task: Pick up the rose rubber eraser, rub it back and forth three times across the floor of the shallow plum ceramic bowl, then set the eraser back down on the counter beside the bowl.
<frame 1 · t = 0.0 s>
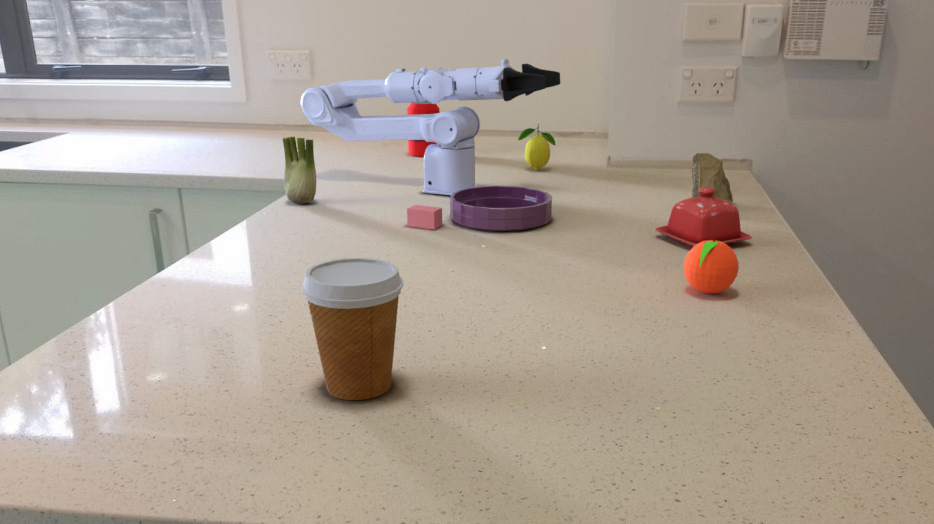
hand: (552, 80, 148), 22 cm above the worktop, tool horizontal, fingers open, 7 cm apart
butter dish: (701, 241, 133), on the worktop
eraser: (425, 225, 140), on the worktop
disposable coffee cup: (359, 388, 83), on the worktop
bowl: (501, 219, 144), on the worktop
clementine: (706, 294, 110), on the worktop
lemon: (536, 171, 183), on the worktop
soda can: (424, 155, 200), on the worktop
fennel bulb: (301, 204, 154), on the worktop
rock: (713, 208, 153), on the worktop
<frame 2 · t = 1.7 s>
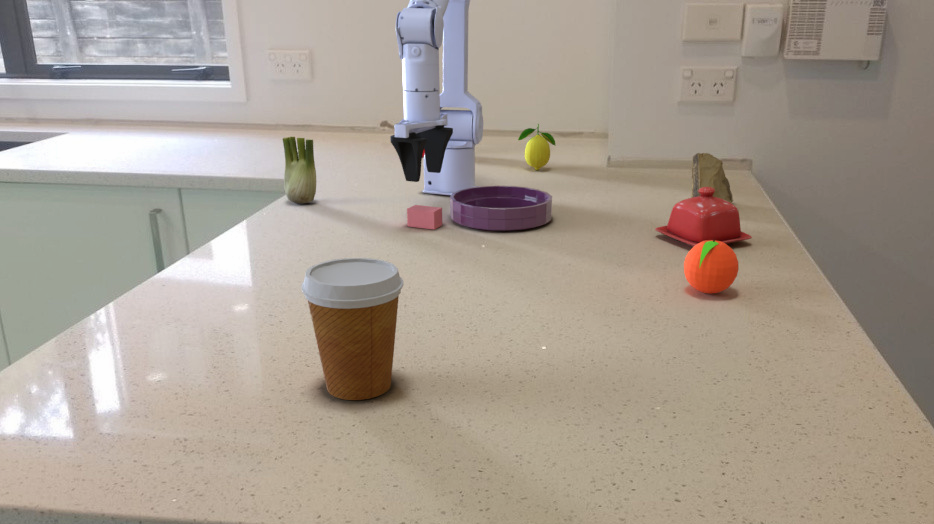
hand: (423, 176, 136), 8 cm above the worktop, tool pointing down, fingers open, 7 cm apart
nothing on the worktop moved.
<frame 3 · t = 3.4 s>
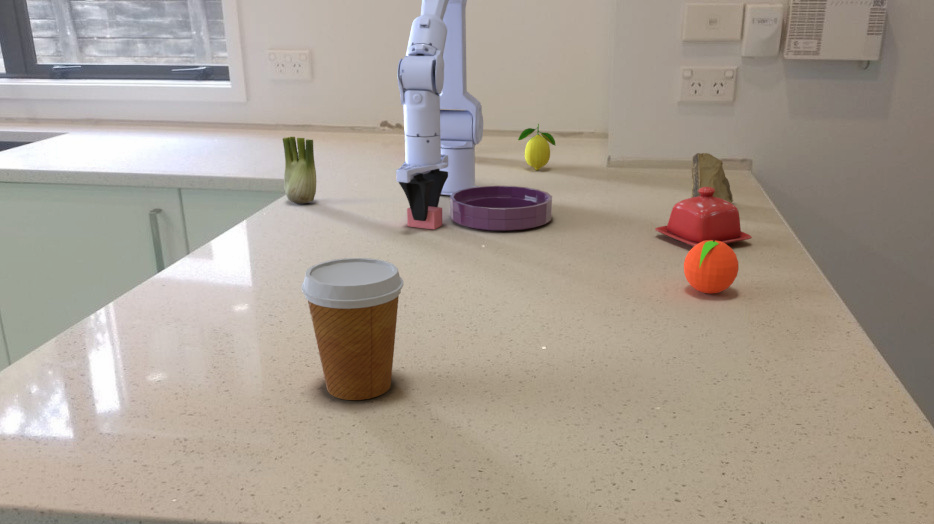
hand: (424, 217, 139), 1 cm above the worktop, tool pointing down, fingers closed on eraser, 3 cm apart
eraser: (425, 225, 140), on the worktop, touching gripper
everything else where it was.
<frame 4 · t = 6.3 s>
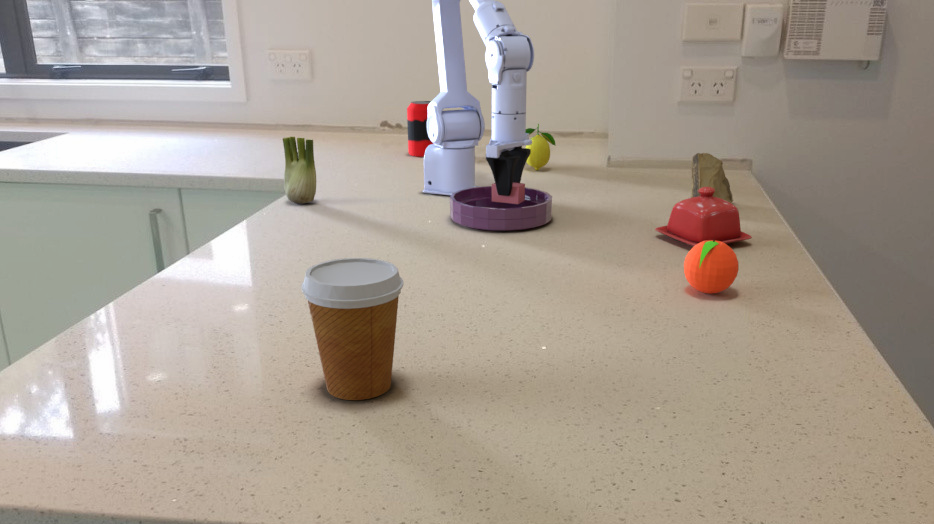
hand: (507, 193, 145), 4 cm above the worktop, tool pointing down, fingers closed on eraser, 3 cm apart
eraser: (508, 201, 145), point 3 cm above the worktop, touching gripper
everything else where it was.
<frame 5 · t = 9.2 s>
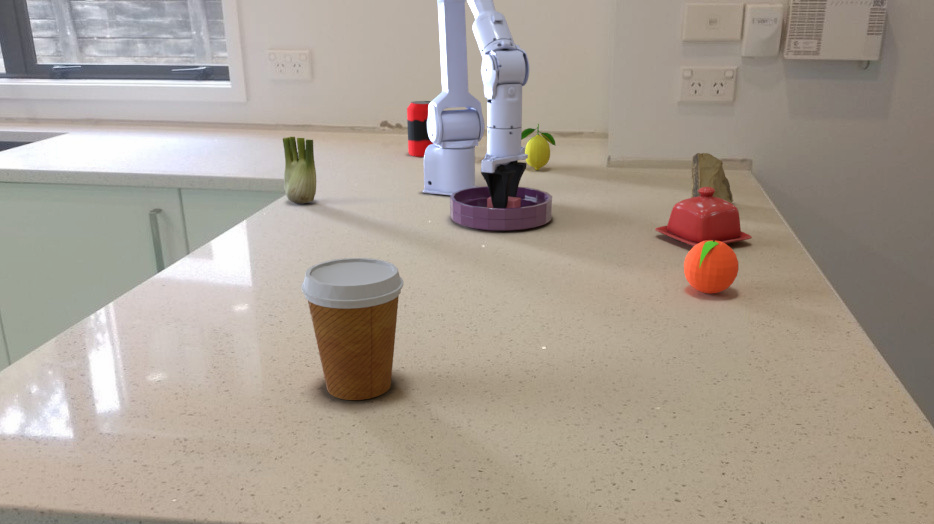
hand: (503, 207, 144), 2 cm above the worktop, tool pointing down, fingers closed on eraser, 3 cm apart
eraser: (503, 215, 144), resting on bowl, touching gripper
bowl: (501, 219, 144), on the worktop, touching eraser
everything else where it was.
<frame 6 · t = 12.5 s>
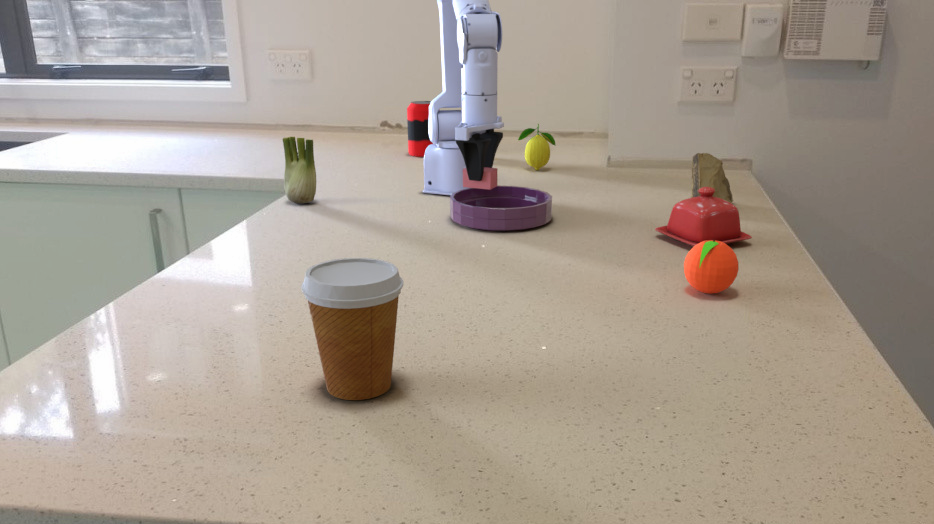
hand: (479, 178, 139), 7 cm above the worktop, tool pointing down, fingers closed on eraser, 3 cm apart
eraser: (480, 186, 140), point 6 cm above the worktop, touching gripper
bowl: (501, 219, 144), on the worktop
everything else where it was.
when the fingers open (1 cm above the worktop, at t = 15.0 s): eraser stays where it is, on the worktop.
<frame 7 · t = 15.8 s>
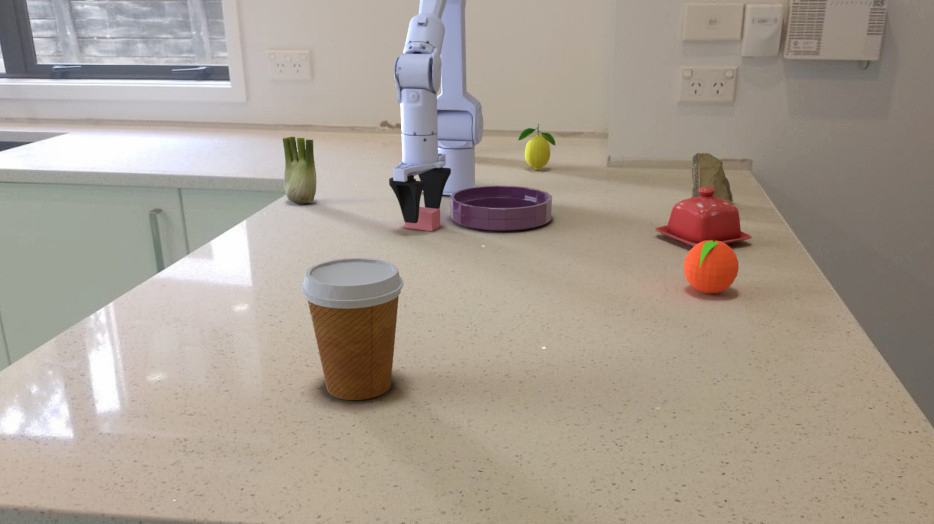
hand: (421, 216, 138), 2 cm above the worktop, tool pointing down, fingers open, 7 cm apart
eraser: (422, 227, 139), on the worktop
everything else where it was.
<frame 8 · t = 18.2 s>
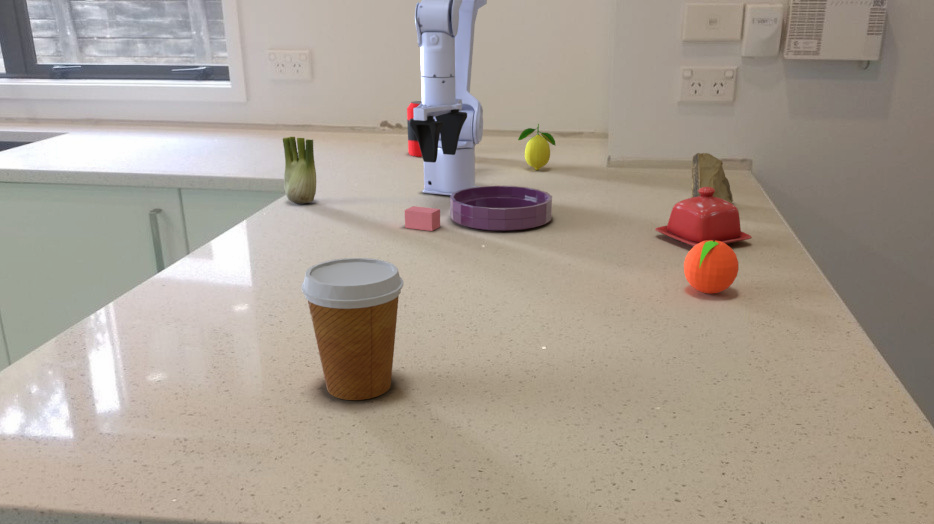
hand: (439, 158, 145), 9 cm above the worktop, tool pointing down, fingers open, 7 cm apart
nothing on the worktop moved.
at the end: eraser inside the target area (0.1 cm from its centre), on the worktop; bowl moved 0.0 cm from its start; bowl tilted 0° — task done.
